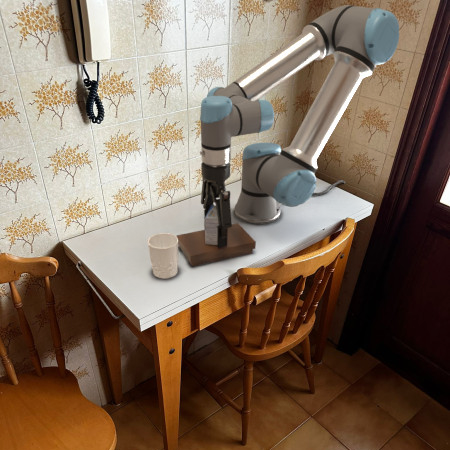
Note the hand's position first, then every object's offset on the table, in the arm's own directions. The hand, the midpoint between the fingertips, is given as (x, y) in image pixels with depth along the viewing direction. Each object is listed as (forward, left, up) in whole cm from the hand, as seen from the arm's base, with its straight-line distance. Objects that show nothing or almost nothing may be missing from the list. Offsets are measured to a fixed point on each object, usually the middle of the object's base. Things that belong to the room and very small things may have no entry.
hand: (215, 237), depth 128 cm
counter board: (0, 0, -4) cm, 4 cm away
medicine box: (0, 0, -1) cm, 1 cm away
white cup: (+17, +5, -5) cm, 18 cm away
